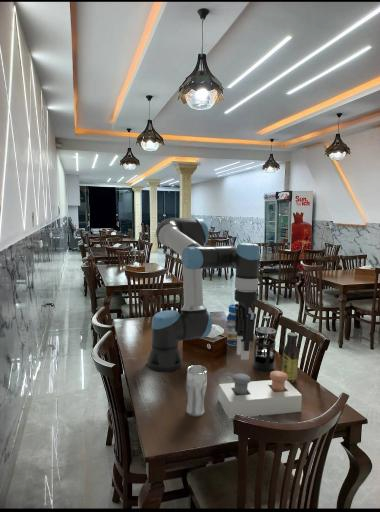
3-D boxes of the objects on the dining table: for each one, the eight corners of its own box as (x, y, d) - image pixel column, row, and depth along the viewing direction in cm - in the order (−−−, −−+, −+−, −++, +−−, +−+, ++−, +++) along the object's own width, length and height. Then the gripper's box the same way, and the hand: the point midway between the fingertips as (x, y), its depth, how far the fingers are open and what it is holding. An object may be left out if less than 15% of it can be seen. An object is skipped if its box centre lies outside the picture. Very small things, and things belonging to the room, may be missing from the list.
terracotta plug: (273, 396, 124) (274, 379, 123) (266, 388, 130) (267, 371, 129) (289, 395, 125) (290, 377, 124) (281, 387, 131) (282, 370, 130)
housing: (229, 418, 118) (229, 401, 117) (218, 399, 129) (219, 384, 129) (300, 411, 123) (302, 395, 123) (284, 394, 135) (285, 378, 134)
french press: (278, 372, 154) (281, 320, 151) (257, 372, 152) (260, 320, 149) (268, 360, 165) (271, 312, 162) (248, 361, 164) (251, 312, 161)
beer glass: (184, 406, 125) (185, 365, 123) (204, 405, 125) (205, 364, 123) (185, 417, 118) (187, 374, 116) (206, 417, 118) (208, 374, 116)
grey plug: (235, 400, 121) (236, 382, 120) (229, 391, 127) (230, 374, 126) (251, 398, 122) (252, 380, 121) (245, 390, 128) (246, 372, 127)
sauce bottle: (279, 376, 150) (282, 330, 147) (294, 376, 149) (297, 331, 147) (282, 383, 143) (286, 336, 141) (298, 384, 143) (302, 336, 140)
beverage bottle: (245, 344, 184) (247, 306, 181) (232, 347, 179) (234, 309, 177) (234, 339, 191) (236, 303, 188) (222, 342, 186) (223, 304, 184)
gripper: (267, 295, 112) (262, 366, 115) (247, 284, 128) (244, 346, 131) (244, 295, 111) (240, 367, 114) (227, 284, 127) (224, 348, 130)
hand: (242, 356), depth 123 cm, fingers open, 3 cm apart
